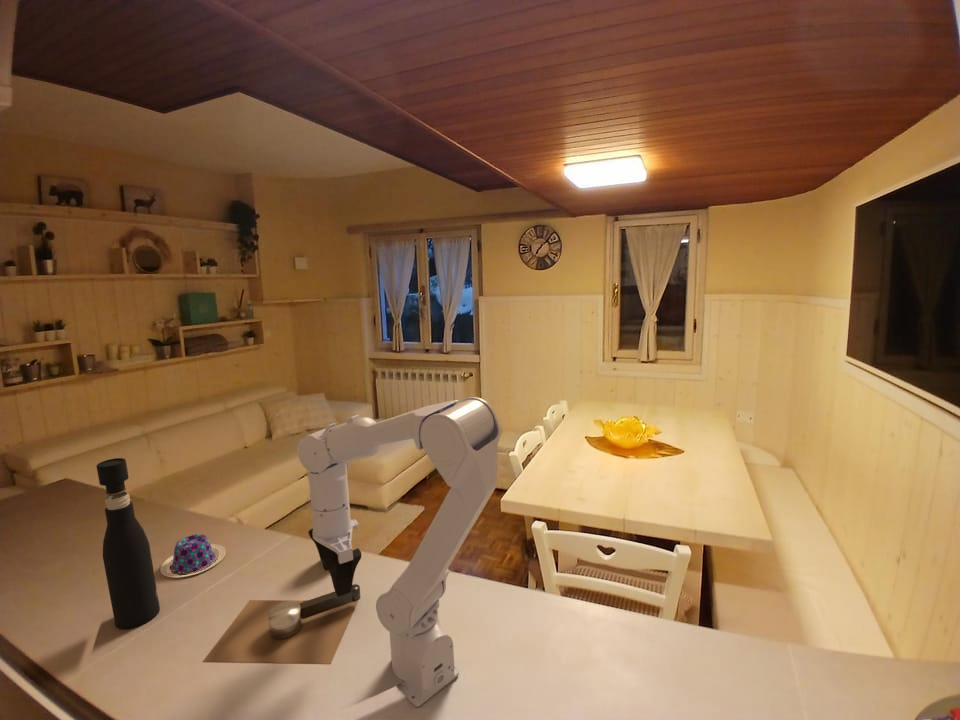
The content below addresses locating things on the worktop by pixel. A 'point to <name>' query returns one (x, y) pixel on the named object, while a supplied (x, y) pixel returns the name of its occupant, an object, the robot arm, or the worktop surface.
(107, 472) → the black water bottle
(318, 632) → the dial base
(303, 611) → the round-headed handle tool
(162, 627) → the worktop surface
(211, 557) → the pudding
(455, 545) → the robot arm
